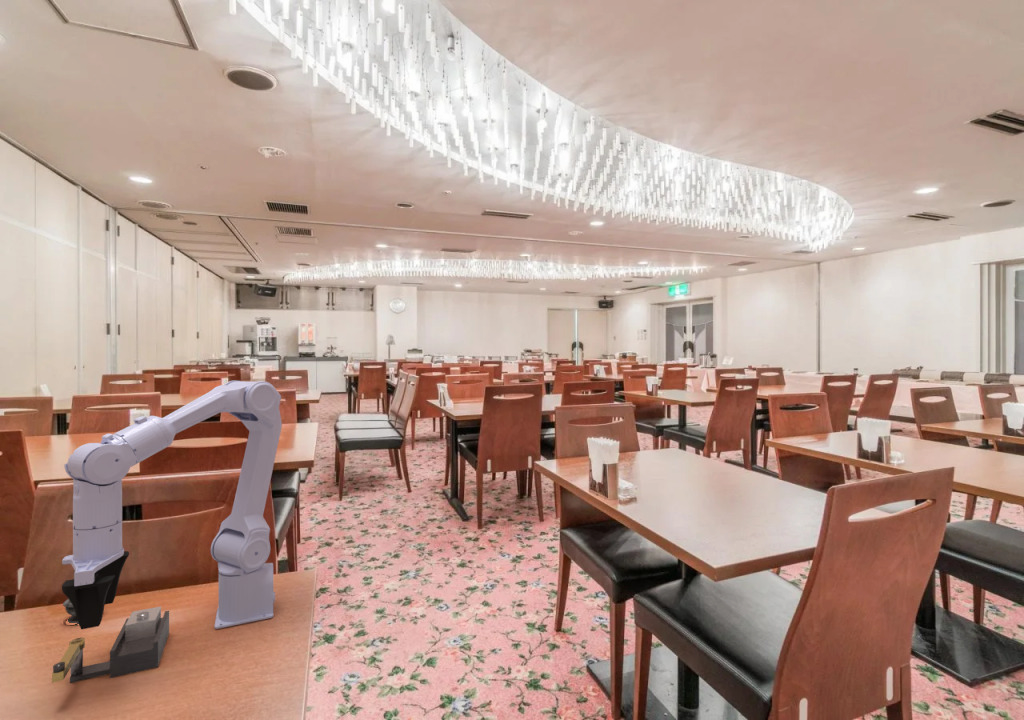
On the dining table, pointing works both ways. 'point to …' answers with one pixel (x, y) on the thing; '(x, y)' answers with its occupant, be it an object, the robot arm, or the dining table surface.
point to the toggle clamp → (126, 655)
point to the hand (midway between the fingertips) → (98, 614)
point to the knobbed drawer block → (143, 624)
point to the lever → (67, 659)
